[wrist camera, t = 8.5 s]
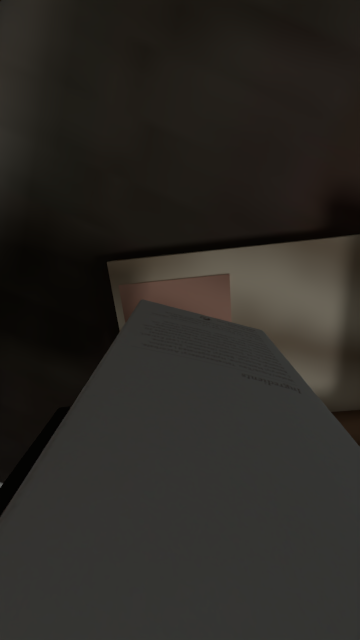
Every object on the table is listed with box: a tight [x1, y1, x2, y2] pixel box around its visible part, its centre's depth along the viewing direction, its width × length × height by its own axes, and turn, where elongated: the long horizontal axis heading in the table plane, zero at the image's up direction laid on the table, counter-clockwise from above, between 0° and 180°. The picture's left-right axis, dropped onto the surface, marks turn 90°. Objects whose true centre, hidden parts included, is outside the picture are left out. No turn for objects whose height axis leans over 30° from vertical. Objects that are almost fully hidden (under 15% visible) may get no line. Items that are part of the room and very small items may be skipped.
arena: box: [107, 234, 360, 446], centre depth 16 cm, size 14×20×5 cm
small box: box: [0, 299, 360, 640], centre depth 7 cm, size 8×6×10 cm
